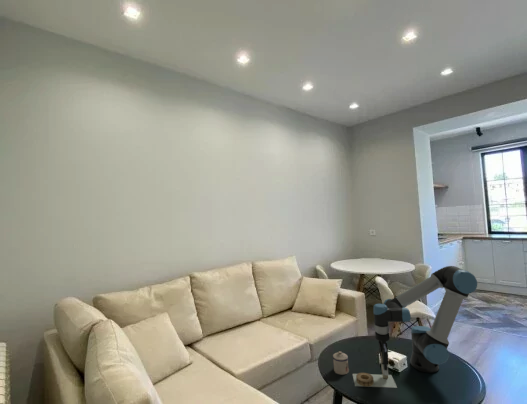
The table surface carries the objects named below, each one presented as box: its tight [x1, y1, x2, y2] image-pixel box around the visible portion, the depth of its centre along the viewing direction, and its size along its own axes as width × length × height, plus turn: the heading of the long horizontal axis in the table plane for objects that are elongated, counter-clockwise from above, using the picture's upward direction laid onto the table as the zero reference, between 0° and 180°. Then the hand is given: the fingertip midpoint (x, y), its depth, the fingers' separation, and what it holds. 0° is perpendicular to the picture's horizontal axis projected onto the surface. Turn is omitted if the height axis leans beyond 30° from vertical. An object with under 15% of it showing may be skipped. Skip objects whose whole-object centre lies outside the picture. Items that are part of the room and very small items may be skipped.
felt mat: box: [352, 373, 398, 389], centre depth 164 cm, size 22×12×1 cm, turn 80°
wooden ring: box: [356, 372, 374, 388], centre depth 163 cm, size 9×9×2 cm
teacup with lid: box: [332, 350, 350, 376], centre depth 177 cm, size 12×9×12 cm
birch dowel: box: [380, 352, 389, 379], centre depth 166 cm, size 3×3×14 cm
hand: (385, 373), depth 166 cm, fingers closed on birch dowel, 3 cm apart
